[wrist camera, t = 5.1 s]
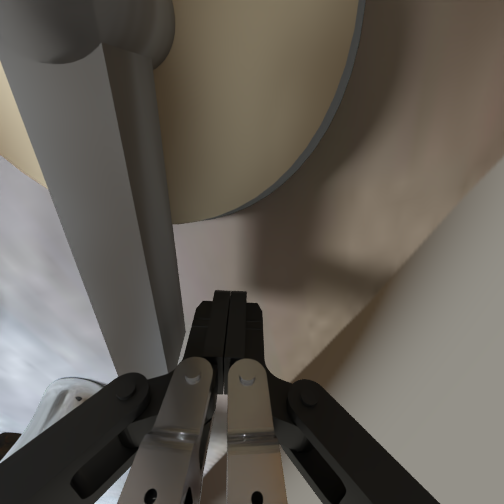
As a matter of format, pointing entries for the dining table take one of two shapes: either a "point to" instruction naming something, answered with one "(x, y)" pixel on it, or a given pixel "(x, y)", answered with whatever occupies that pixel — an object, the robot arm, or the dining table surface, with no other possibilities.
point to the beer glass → (55, 407)
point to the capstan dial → (159, 132)
